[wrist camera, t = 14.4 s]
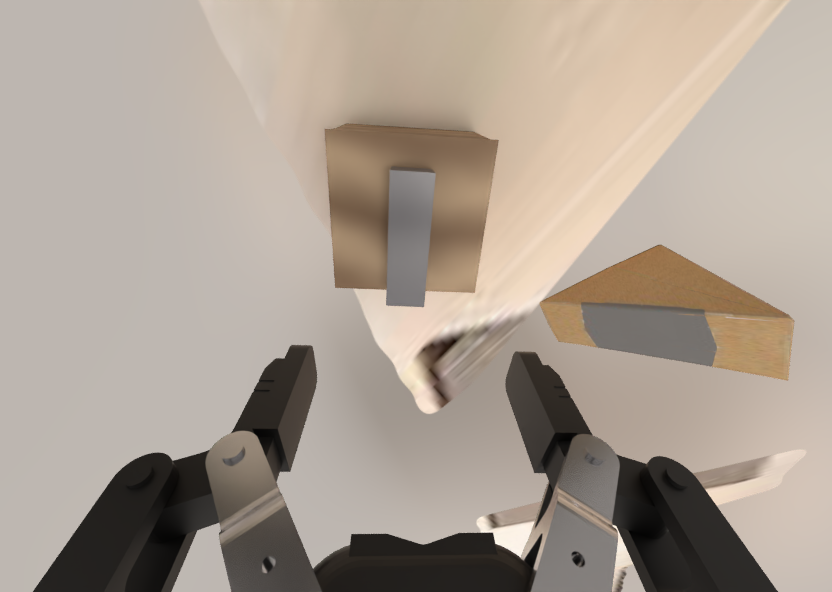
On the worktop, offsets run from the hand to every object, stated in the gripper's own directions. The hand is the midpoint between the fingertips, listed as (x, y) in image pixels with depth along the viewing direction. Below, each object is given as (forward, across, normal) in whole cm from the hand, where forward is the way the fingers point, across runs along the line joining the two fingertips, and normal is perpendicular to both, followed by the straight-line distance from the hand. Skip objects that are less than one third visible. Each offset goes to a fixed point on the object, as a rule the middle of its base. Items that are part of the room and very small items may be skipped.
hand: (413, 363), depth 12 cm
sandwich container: (+24, -26, +11) cm, 37 cm away
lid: (+16, 0, -1) cm, 16 cm away
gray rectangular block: (+15, 0, 0) cm, 15 cm away
